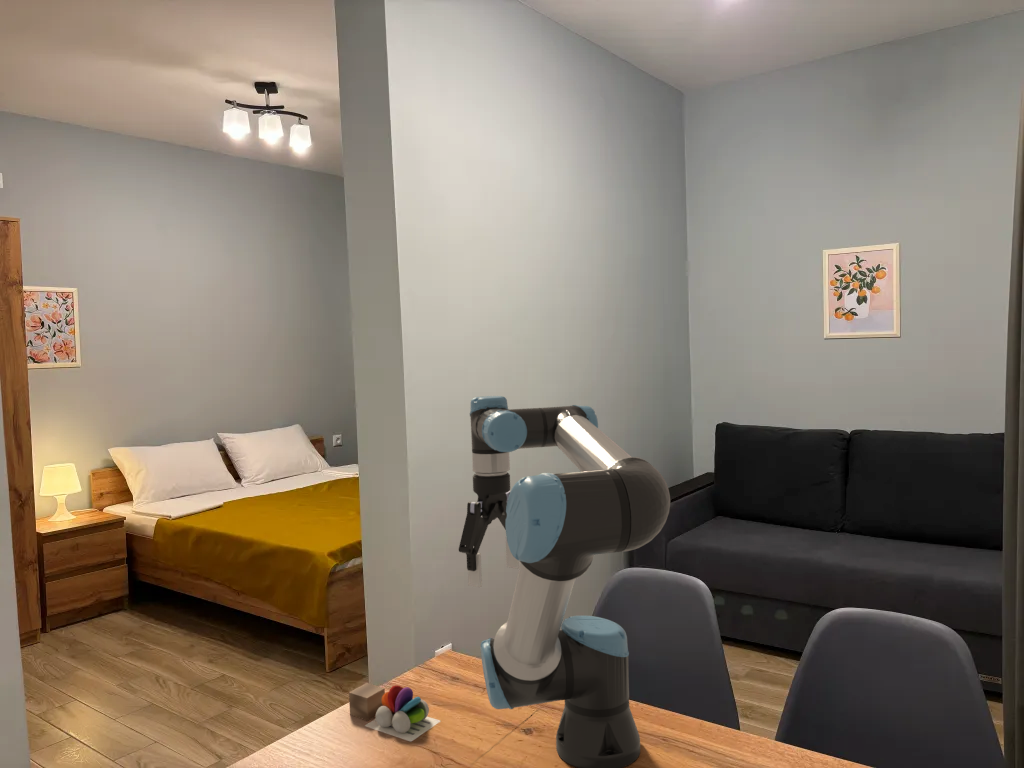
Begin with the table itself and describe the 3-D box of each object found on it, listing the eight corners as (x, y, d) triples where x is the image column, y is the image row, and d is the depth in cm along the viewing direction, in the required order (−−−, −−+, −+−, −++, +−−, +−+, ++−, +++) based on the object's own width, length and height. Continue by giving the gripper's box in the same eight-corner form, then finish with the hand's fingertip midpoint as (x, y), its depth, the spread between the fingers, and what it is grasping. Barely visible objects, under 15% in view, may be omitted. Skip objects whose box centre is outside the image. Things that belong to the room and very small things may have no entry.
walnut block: (385, 712, 153) (384, 688, 153) (368, 722, 149) (367, 698, 149) (367, 706, 156) (366, 682, 156) (350, 716, 152) (349, 692, 152)
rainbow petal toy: (399, 708, 154) (397, 673, 153) (436, 720, 148) (434, 683, 148) (369, 726, 147) (368, 690, 146) (407, 739, 141) (405, 701, 141)
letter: (441, 722, 148) (441, 720, 148) (411, 743, 140) (411, 741, 140) (395, 708, 155) (395, 706, 155) (364, 727, 147) (364, 725, 147)
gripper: (509, 462, 164) (512, 558, 166) (437, 481, 144) (442, 591, 145) (539, 464, 160) (542, 562, 161) (469, 484, 140) (473, 597, 141)
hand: (494, 576), depth 153 cm, fingers open, 13 cm apart
